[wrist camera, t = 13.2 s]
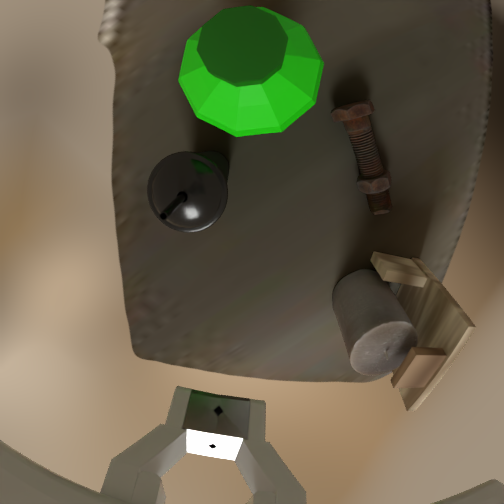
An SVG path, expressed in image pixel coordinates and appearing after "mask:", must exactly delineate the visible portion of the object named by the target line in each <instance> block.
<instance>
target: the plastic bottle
mask: <svg viewBox="0 0 504 504" xmlns="http://www.w3.org/2000/svg"><path fill="white" fill-rule="evenodd" d="M323 65H324V63H323V61H322V59H321V57H320V55H319V53H318V51H317V49H316V47H315V45H314V44H313V42H312V40H311V38H310V36H309V34H308V33H307V31H306V29H305V27H304V26H302V25H300V24H298V23H296V22H295V21H293V20H290V19H288V18H286V17H284V16H282V15H280V14H278V13H276V12H274V11H271V10H269V9H267V8H264V7H254V6H251V5H250V6H242V7H234V8H228V9H223V10H221V11H220V12H219V13H218V14H216V15H215V16H214V17H213V18H211V19H210V20H209V21H208V22H207V23H205V24H204V25H203V26H202V27H201V28H200V29H199V30H198V31H197V32H195V33H194V34H193V35H192V36H191V37H190V38H189V39H188V40H187V42H186V46H185V51H184V55H183V60H182V64H181V69H180V74H179V79H178V82H179V84H180V86H181V87H182V89H183V91H184V93H185V95H186V97H187V99H188V101H189V103H190V105H191V107H192V109H193V111H194V113H195V115H196V117H197V118H199V119H201V120H203V121H206V122H208V123H210V124H212V125H214V126H216V127H218V128H220V129H222V130H224V131H226V132H228V133H230V134H232V135H234V136H235V137H239V136H247V135H256V134H265V133H275V132H282V131H283V130H284V129H286V128H287V127H288V126H289V125H290V124H291V123H293V122H294V121H295V120H296V119H297V118H299V117H300V116H301V115H302V114H303V113H305V112H306V111H307V110H308V109H310V108H311V107H312V106H313V105H314V104H315V103H316V98H317V93H318V89H319V84H320V79H321V75H322V70H323Z"/></svg>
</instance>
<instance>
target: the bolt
mask: <svg viewBox="0 0 504 504" xmlns="http://www.w3.org/2000/svg"><path fill="white" fill-rule="evenodd" d="M374 110H375V109H374V106H373V104H372V102H371V101H370V100H364V101H359V102H355V103H351V104H347V105H344V106H340V107H338V108H335V109H333V110H332V111H331V116H332V119H333V121H334V122H340V121H343V123H344V126H345V129H346V131H347V132H348V134H349V135H348V136H350V137H349V138H350V139H351V140H350V141H352V142H351V144H352V146H353V151H355V152H354V154H355V156H356V158H357V159H356V160H357V163H358V166H359V170H360V172H361V174H360V175H359V176H358V178H357V185H358V189H359V191H361V192H363V193H365V194H366V195H367V199H368V202H369V207H370V211H371V212H372V213H373V214H375V215H378V214H384V213H388V212H389V211H390V210H391V209H392V204H391V200H390V196H389V191H388V188H389V187H390V186H391V176H390V172H389V171H387V170H386V169H383V167H382V163H381V160H380V155H379V152H378V150H377V149H378V148H377V145H376V143H375V138H374V135H373V133H372V132H373V131H372V128H371V122H370V119H369V116H368V115H369V114H372V113H373V112H374Z"/></svg>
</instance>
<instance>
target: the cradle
mask: <svg viewBox="0 0 504 504" xmlns="http://www.w3.org/2000/svg"><path fill="white" fill-rule="evenodd" d="M370 261H371V262H372V264H373V265H374V267H375V269H376V270H377V272H378V273H379V275H380V277H381V278H382V280H383V281H389V282H395V283H401V285H400V288H399V290H398V292H397V294H396V298H397V300H398V301H399V303H400V304H401V306H402V308H403V309H404V311H405V312H406V314H407V316H408V317H409V319H410V321H411V323H412V324H413V326H414V328H415V329H416V332H417V335H418V343H417V346H416V347H412V348H411V349H410V351H409V352H408V354H407V356H406V357H405V359H404V360H403V362H402V363H401V365H400V366H399V367H398V368H396V369H394V370H392V372H393V374H394V375H393V377H392V378H391V383H392V385H393V388H399V390H400V393H401V396H402V398H403V401H404V404H405V407H406V410H407V411H415V410H416V409H417V408H418V407H419V406H420V404H421V403H422V402H423V401H424V400H425V398H426V397H427V396H428V395H429V393H430V392H431V391H432V390H433V389H434V387H435V386H436V385H437V383H438V382H439V381H440V380H441V378H442V377H443V375H444V374H445V373H446V372H447V370H448V369H449V367H450V366H451V365H452V363H453V362H454V360H455V359H456V357H457V356H458V355H459V353H460V351H461V350H462V349H463V347H464V346H465V344H466V343H467V341H468V339H469V338H470V336H471V335H472V333H473V331H474V330H475V328H476V326H475V325H474V324H473V322H472V321H471V320H470V318H469V317H468V316H467V314H466V313H465V312H464V311H463V309H462V308H461V307H460V306H459V304H458V303H457V302H456V301H455V299H454V298H453V297H452V296H451V295H450V293H449V292H448V291H447V290H446V288H445V287H444V286H443V285H442V284H441V283H440V281H439V280H438V279H437V278H436V277H435V276H434V274H433V273H432V272H431V271H430V270H429V269H428V268H427V267H426V265H425V264H424V263H423V262H422V261H421V260H420V259H418V258H414V257H412V259H408V258H403V257H398V256H394V255H389V254H384V253H379V252H375V251H374V252H373V255H372V257H371V260H370Z"/></svg>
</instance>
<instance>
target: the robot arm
mask: <svg viewBox="0 0 504 504" xmlns="http://www.w3.org/2000/svg"><path fill="white" fill-rule="evenodd" d="M265 413H266V403H265V401H261V400H253V399H249V398H240V397H233V396H226V395H218V394H212V393H208V392H203V391H198V390H193V389H189V388H184V387H180V386H177V387H176V389H175V392H174V395H173V399H172V402H171V406H170V409H169V412H168V416H167V420H166V424H165V425H164V424H160V425H159V426H157V427H156V428H155V429H153V430H152V431H151V432H149V433H148V434H147V435H145V436H144V437H143V438H141V439H140V440H138V441H137V442H136V443H134V444H133V445H131V446H130V447H129V448H127V449H126V450H124V451H123V452H122V453H120V454H119V455H117V456H116V457H114V458H113V459H112V460H111V463H110V466H109V468H108V471H107V474H106V477H105V480H104V483H103V486H102V489H101V492H100V493H99V492H96V491H94V490H91V489H89V488H87V487H84V486H82V485H79V484H77V483H75V482H73V481H71V480H69V479H67V478H64V477H62V476H60V475H58V474H56V473H54V472H52V471H50V470H49V469H47V468H45V467H43V466H41V465H39V464H37V463H36V462H34V461H32V460H31V459H29V458H27V457H26V456H24V455H22V454H21V453H19V452H18V451H16V450H14V449H13V448H11V447H10V446H8V445H7V444H5V443H4V442H2V441H1V440H0V504H165V499H166V496H165V492H164V488H163V484H162V480H161V477H162V476H163V475H164V474H165V473H166V472H167V471H168V470H169V469H171V468H172V467H173V466H174V465H175V464H176V463H177V462H178V461H179V460H180V459H181V458H182V457H183V456H184V455H185V454H186V452H188V453H194V454H199V455H206V456H212V457H218V458H224V459H230V460H235V463H236V465H237V467H238V468H239V470H240V472H241V474H242V476H243V478H244V479H245V481H246V483H247V485H248V486H249V488H250V490H251V492H252V493H253V496H252V497H251V498H250V499H249V501H248V502H247V503H246V504H306V491H305V490H304V488H303V487H302V486H301V485H300V483H299V482H298V481H297V479H296V478H295V477H294V475H292V473H291V471H290V470H289V469H288V467H287V466H286V465H285V463H284V462H283V461H282V459H281V458H280V456H279V455H278V454H277V452H276V451H275V449H274V448H273V447H272V445H271V444H270V442H265V418H266V414H265ZM431 504H504V485H503V484H502V483H501V482H499V481H498V480H489V481H487V482H485V483H482V484H480V485H478V486H476V487H474V488H471V489H469V490H467V491H464V492H462V493H459V494H457V495H454V496H451V497H449V498H446V499H443V500H440V501H437V502H435V503H431Z"/></svg>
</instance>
